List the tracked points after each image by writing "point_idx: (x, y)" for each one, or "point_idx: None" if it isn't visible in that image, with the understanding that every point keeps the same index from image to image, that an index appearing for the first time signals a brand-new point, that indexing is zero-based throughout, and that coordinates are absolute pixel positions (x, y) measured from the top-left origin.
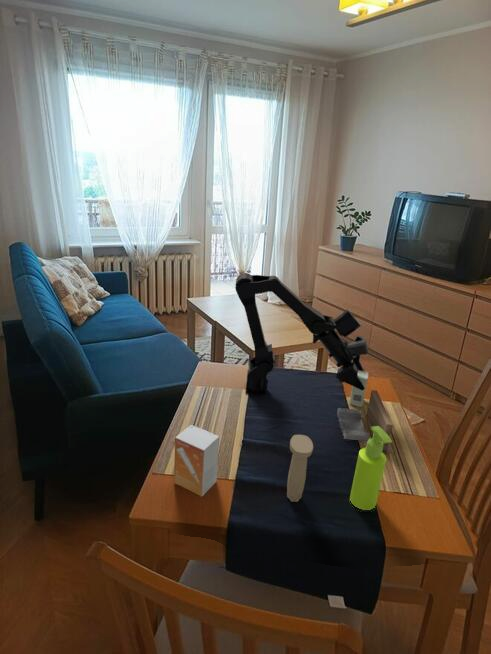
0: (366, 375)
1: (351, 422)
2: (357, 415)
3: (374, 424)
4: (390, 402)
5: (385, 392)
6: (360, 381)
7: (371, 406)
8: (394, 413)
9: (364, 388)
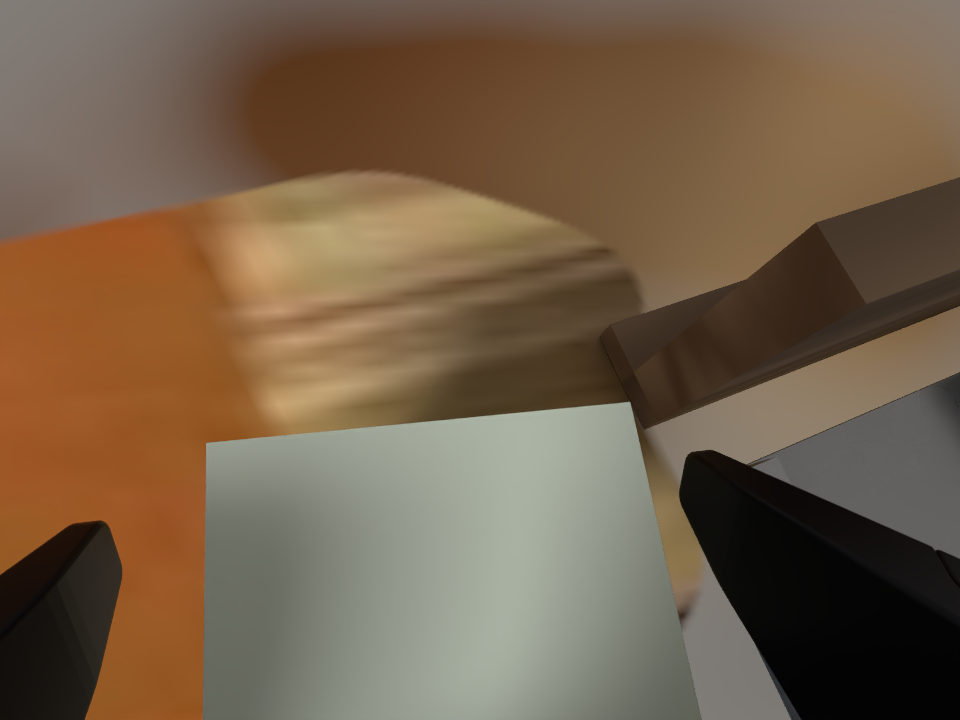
0: (441, 459)
1: None
2: None
3: (929, 311)
4: (241, 235)
5: (4, 293)
6: (909, 541)
7: (835, 338)
8: (448, 198)
9: (719, 455)
